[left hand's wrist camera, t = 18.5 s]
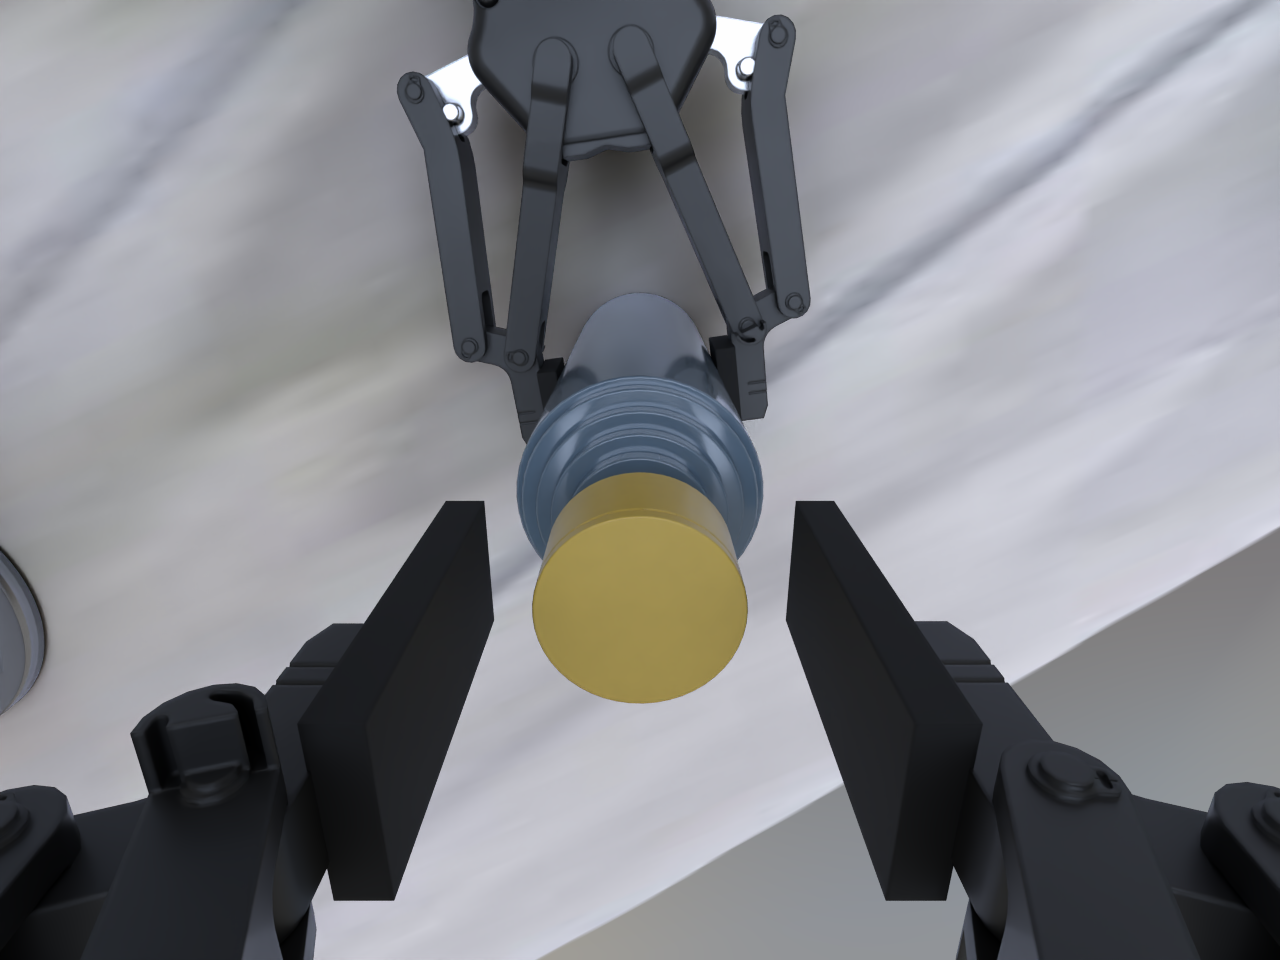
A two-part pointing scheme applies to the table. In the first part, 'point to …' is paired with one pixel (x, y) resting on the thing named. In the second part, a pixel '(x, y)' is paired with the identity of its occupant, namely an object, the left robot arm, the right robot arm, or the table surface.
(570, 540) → the cap
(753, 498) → the bottle
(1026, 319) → the table surface
